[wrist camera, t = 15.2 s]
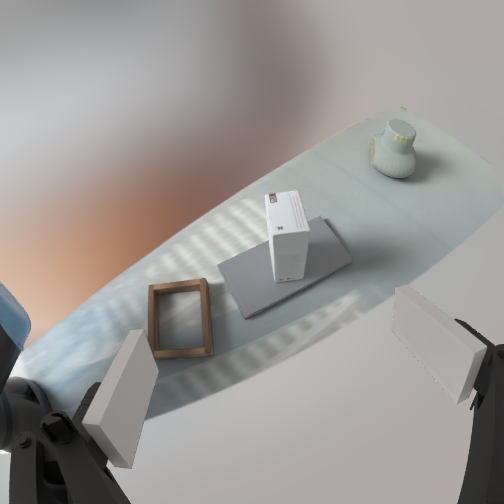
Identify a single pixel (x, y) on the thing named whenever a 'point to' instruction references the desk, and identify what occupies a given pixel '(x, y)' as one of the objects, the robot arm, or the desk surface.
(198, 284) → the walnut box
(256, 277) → the slate board
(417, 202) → the desk surface
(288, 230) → the skincare box
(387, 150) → the air freshener
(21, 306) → the robot arm
